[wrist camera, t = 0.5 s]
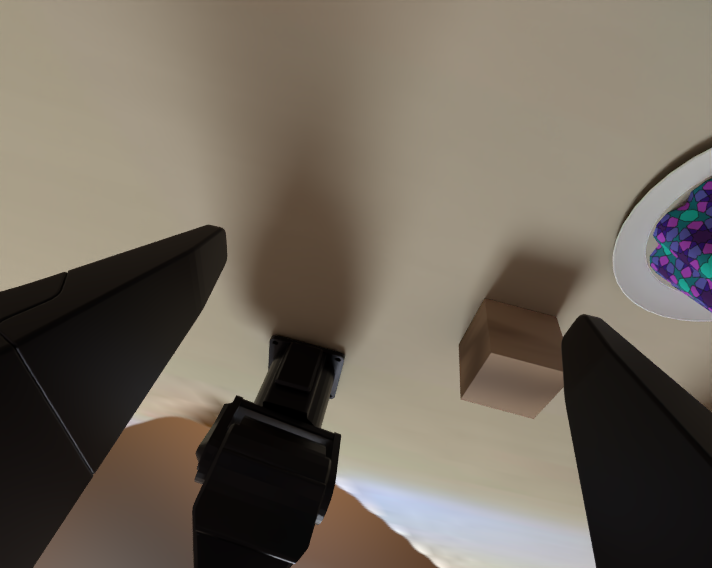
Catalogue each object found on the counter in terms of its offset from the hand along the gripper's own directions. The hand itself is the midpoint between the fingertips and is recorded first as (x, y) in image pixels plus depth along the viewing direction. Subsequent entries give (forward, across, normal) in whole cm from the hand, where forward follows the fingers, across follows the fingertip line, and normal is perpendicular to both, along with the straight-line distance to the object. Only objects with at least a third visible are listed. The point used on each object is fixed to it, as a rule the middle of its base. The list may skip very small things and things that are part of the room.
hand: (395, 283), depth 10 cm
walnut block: (+14, -10, +12) cm, 21 cm away
